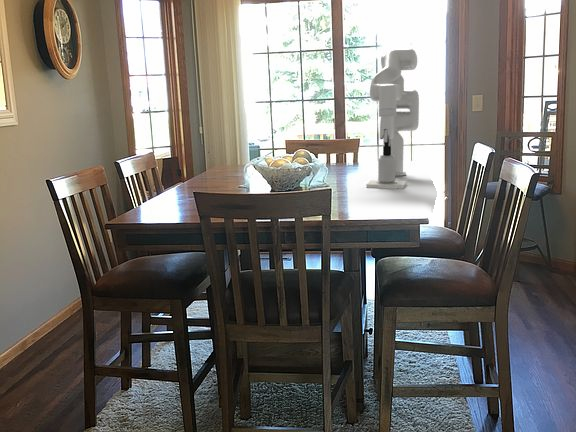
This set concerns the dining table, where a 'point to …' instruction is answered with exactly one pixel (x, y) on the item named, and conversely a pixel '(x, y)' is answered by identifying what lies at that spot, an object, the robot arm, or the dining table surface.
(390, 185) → the tile
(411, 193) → the dining table surface
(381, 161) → the can
